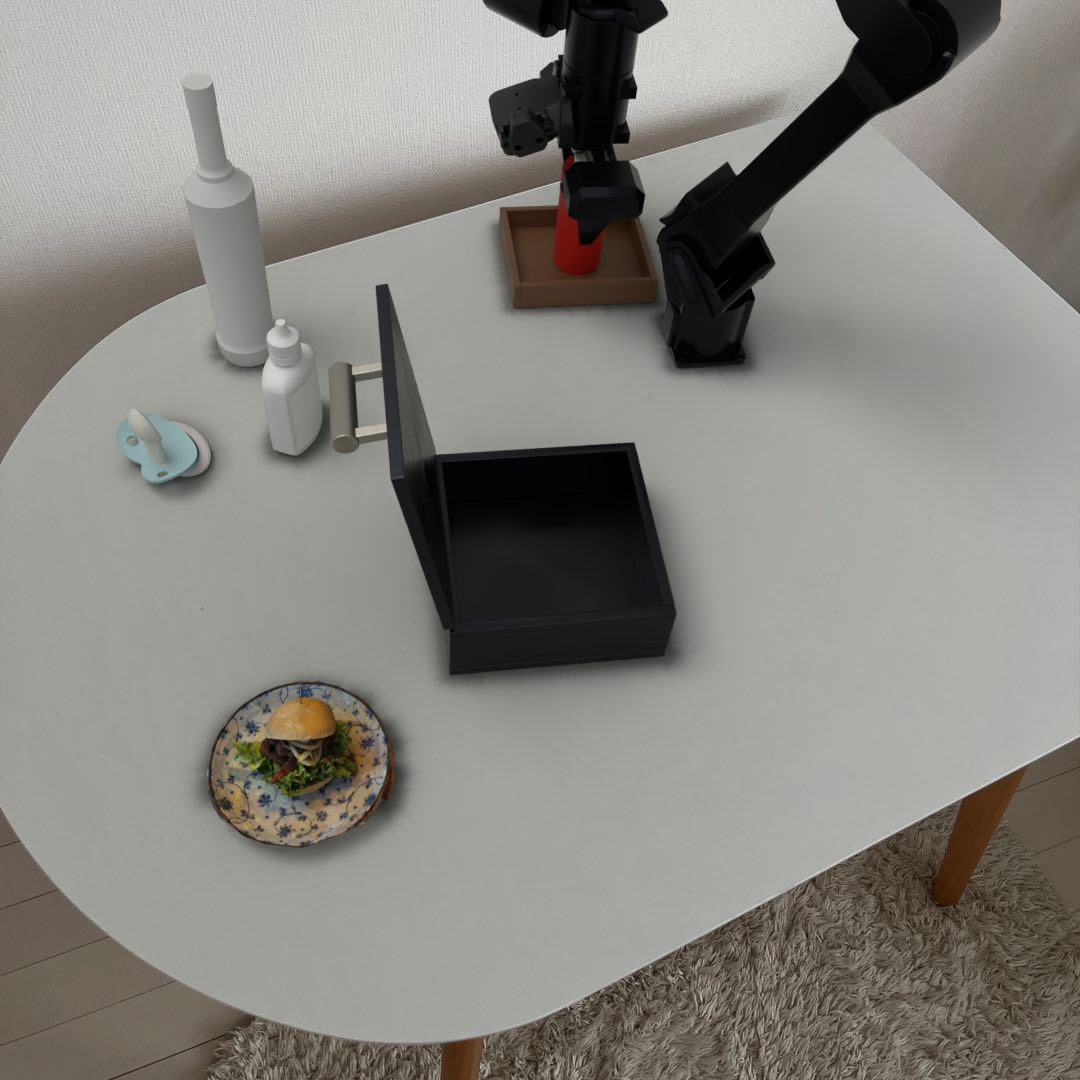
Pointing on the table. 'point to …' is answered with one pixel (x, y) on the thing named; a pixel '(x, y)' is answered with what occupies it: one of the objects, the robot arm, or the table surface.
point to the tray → (545, 285)
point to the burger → (300, 765)
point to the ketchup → (573, 237)
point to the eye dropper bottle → (291, 391)
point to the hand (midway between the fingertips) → (579, 219)
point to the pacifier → (162, 447)
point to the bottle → (226, 234)
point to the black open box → (552, 558)
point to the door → (399, 446)
